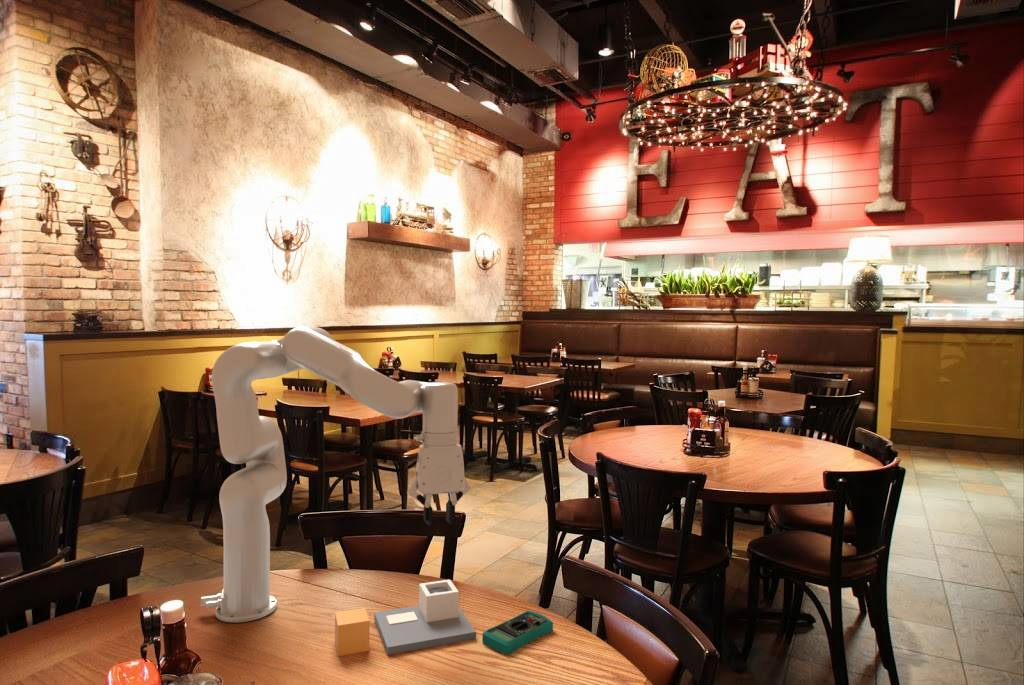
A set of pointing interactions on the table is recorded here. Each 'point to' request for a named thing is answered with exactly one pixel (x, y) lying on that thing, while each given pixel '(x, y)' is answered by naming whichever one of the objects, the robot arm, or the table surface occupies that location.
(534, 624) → the digital multimeter
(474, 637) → the board
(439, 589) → the breaker button
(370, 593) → the table surface
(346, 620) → the orange foam cube
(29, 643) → the table surface
